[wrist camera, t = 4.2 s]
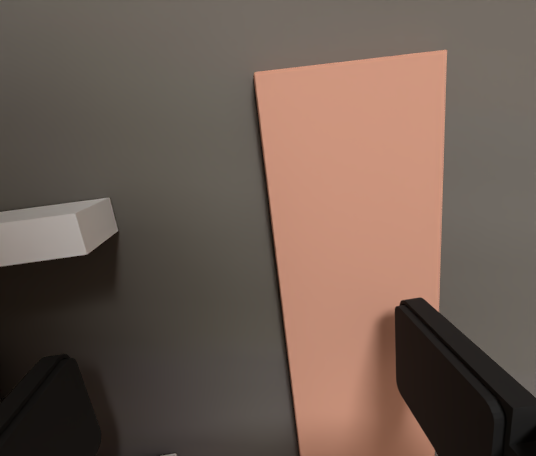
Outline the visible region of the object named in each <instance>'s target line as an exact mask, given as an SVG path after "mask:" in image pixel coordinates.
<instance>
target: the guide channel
mask: <svg viewBox="0 0 536 456" xmlns="http://www.w3.org/2000/svg"><path fill="white" fill-rule="evenodd" d="M446 64H447V50H440V51H432V52H423V53H414V54H406V55H397V56H389V57H380V58H372V59H363V60H355V61H346V62H337V63H329V64H320V65H312V66H303V67H295V68H286V69H278V70H269V71H261V72H254V76H253V77H254V85H255V93H256V101H257V109H258V118H259V126H260V134H261V142H262V150H263V159H264V167H265V175H266V183H267V191H268V199H269V208H270V216H271V224H272V232H273V240H274V249H275V257H276V265H277V273H278V281H279V289H280V298H281V306H282V314H283V322H284V330H285V339H286V347H287V355H288V363H289V371H290V379H291V388H292V396H293V404H294V412H295V420H296V428H297V437H298V445H299V453H300V456H434V455H435V449H434V448H433V446H432V444H431V443H430V441H429V440H428V438H427V436H426V435H425V433H424V431H423V430H422V428H421V427H420V425H419V423H418V422H417V420H416V419H415V417H414V415H413V414H412V412H411V411H410V409H409V407H408V406H407V404H406V403H405V401H404V399H403V398H402V396H401V394H400V392H399V390H398V387H397V383H396V352H395V307H396V306H400V302H401V301H402V300H406V299H413V298H419V297H421V298H423V299H424V300H426V301H427V302H428V303H429V304H430V305H431V306H432V307H433V308H435V309H436V310H437V311H438V312H439V292H440V260H441V227H442V194H443V162H444V129H445V96H446ZM117 231H118V228H117V224H116V220H115V216H114V212H113V209H112V205H111V201H110V197H109V198H102V199H94V200H87V201H79V202H71V203H64V204H56V205H49V206H41V207H34V208H26V209H18V210H11V211H3V212H0V267H1V266H8V265H16V264H23V263H30V262H37V261H44V260H51V259H59V258H66V257H73V256H80V255H87V254H89V253H90V252H91V251H93V250H94V249H95V248H96V247H98V246H99V245H100V244H102V243H103V242H104V241H106V240H107V239H108V238H110V237H111V236H112V235H113V234H115V233H116V232H117ZM162 456H177V453H174V454H168V455H162Z"/></svg>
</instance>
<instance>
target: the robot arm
mask: <svg viewBox="0 0 536 456" xmlns="http://www.w3.org/2000/svg"><path fill="white" fill-rule="evenodd" d="M395 352H396V383H397V387H398V390H399V392H400V394H401V396H402V398H403V399H404V401H405V403H406V404H407V406H408V407H409V409H410V411H411V412H412V414H413V415H414V417H415V419H416V420H417V422H418V423H419V425H420V427H421V428H422V430H423V431H424V433H425V435H426V436H427V438H428V440H429V441H430V443H431V444H432V446H433V448H434V449H435V451H436V452H437V454H438V456H536V398H535V397H534V396H533V395H532V394H531V393H530V392H528V391H527V390H526V389H525V388H524V387H523V386H522V385H521V384H519V383H518V382H517V381H516V380H515V379H514V378H513V377H512V376H510V375H509V374H508V373H507V372H506V371H505V370H504V369H502V368H501V367H500V366H499V365H498V364H497V363H496V362H495V361H493V360H492V359H491V358H490V357H489V356H488V355H487V354H485V353H484V352H483V351H482V350H481V349H480V348H479V347H478V346H476V345H475V344H474V343H473V342H472V341H471V340H470V339H469V338H467V337H466V336H465V335H464V334H463V333H462V332H461V331H459V330H458V329H457V328H456V327H455V326H454V325H453V324H452V323H450V322H449V321H448V320H447V319H446V318H445V317H444V316H443V315H441V314H440V313H439V312H438V311H437V310H436V309H435V308H433V307H432V306H431V305H430V304H429V303H428V302H427V301H426V300H424V299H423V298H421V297H419V298H413V299H406V300H402V301H401V302H400V306H396V307H395ZM100 442H101V430H100V427H99V425H98V422H97V419H96V416H95V413H94V410H93V407H92V405H91V402H90V399H89V396H88V393H87V390H86V387H85V385H84V382H83V379H82V376H81V373H80V370H79V367H78V365H77V362H76V360H75V359H74V358H70V357H69V356H68V355H67V354H61V355H55V356H49V357H44V358H42V359H41V360H39V361H38V363H37V364H36V365H35V366H34V367H33V368H32V369H31V370H30V372H29V373H28V374H27V375H26V376H25V377H24V378H23V379H22V380H21V382H20V383H19V384H18V385H17V386H16V387H15V388H14V389H13V390H12V392H11V393H10V394H9V395H8V396H7V397H6V398H5V399H4V400H3V402H2V403H1V404H0V456H95V454H96V452H97V450H98V448H99V445H100Z"/></svg>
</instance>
